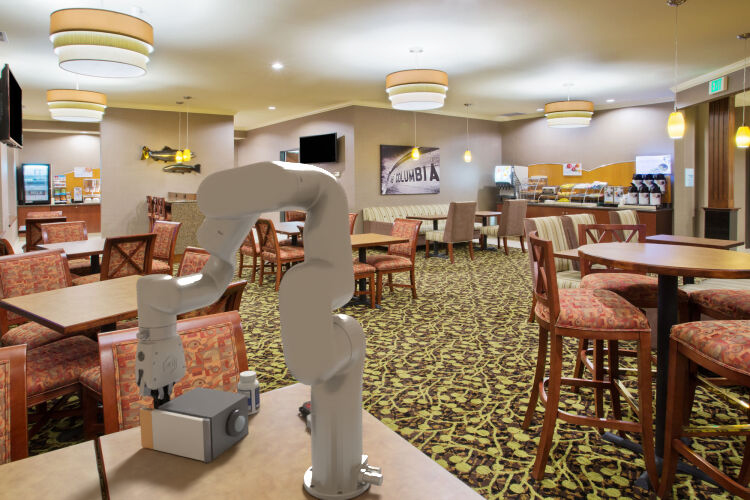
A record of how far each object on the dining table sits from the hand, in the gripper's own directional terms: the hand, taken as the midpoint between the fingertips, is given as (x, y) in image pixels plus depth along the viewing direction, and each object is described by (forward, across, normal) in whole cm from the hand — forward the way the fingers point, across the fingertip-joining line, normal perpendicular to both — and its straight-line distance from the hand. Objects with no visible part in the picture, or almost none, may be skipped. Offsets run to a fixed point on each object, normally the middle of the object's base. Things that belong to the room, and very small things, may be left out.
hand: (162, 413), depth 107 cm
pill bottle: (+6, +19, -9) cm, 22 cm away
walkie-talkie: (+7, +20, -30) cm, 37 cm away
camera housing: (+6, +3, -9) cm, 11 cm away
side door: (+6, -4, -7) cm, 10 cm away
